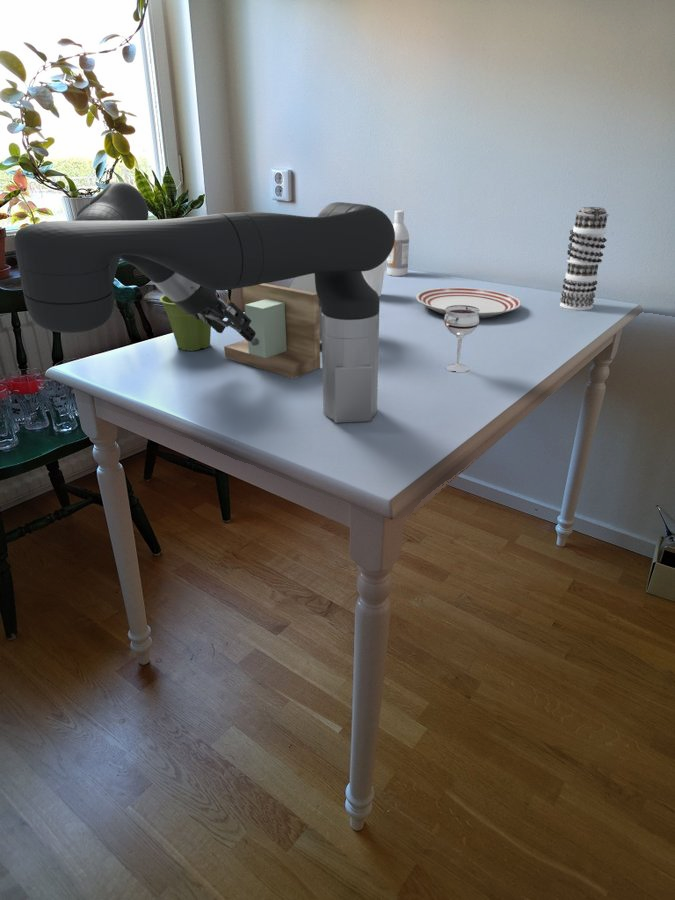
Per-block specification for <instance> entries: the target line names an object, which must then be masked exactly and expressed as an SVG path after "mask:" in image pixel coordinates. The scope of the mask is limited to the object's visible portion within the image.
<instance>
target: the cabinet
mask: <svg viewBox="0 0 675 900" xmlns="http://www.w3.org/2000/svg"><path fill="white" fill-rule="evenodd" d="M245 311H246V316H247V317H248V318H249V319H250V320H251V323H250V324H249V326H250V327H251V328H252V329H253V330H254V331H255V333H256V334H255V336H254V338H253V340H252V341H251V342H249V341H248V348H249V353H250V354H253V355H257V356H260V357H263V358H268V357H271V356H274V355H276V354H279V353H282V352H285V351H287V344H286V324H285V303H284V302H279V301H275V300H270V299H265V300H261V301H257V302H253V303H249V304H246V305H245Z"/></svg>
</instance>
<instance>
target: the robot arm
mask: <svg viewBox="0 0 675 900" xmlns="http://www.w3.org/2000/svg"><path fill="white" fill-rule="evenodd" d="M148 219H149V208H148V204H147V202H146V199H145V198H144V196H143V194H142V193H141V191H139V190H138V189H137V188H136V187H135V186H133V185H131V184H130V183H127V182H125V181H115V182H113V183H110V184H108V186H107V187H104V189H103V190H101V191H100V192H99V193H98V194H97V195H96V196H94V197H93V198H92V199H90V200H89V201H88V202H86V203H85V204H84V205H83V206H82V207H81V208H80V209H79V211H78V212H77V214H76V218H75V219H74V220H54V221H45V222H36V223H33V224H30V225H26V226H24V227H21V228H20V229H18V230H17V231H16V232H15V235H14V238H13V240H14V243H13V244H14V251H15V257H16V261H17V268H18V272H19V277H20V279H19V280H20V284H21V288H22V292H23V297H24V302H25V306H26V309H27V311H28V314H29V316H30V318H31V319H32V321H33V322H34V323H35V324H36V325H38V326H39V327H41V328H43V329H44V330H47V331H50V332H55V333H61V334H62V333H63V334H77V333H86V332H90V331H93V330H95V329H98V328H100V327H101V326H103V325H104V324H106V323H107V322H108V321H109V320H110V318H111V316H112V313H113V311H114V310H113V309H114V305H115V304H114V303H115V293H114V282H115V278H116V277H115V276H116V273H117V271H118V270H117V269H118V267H119V266H118V265H119V263H120V260H122V261H123V262H126V263H128V264H130V265H132V266H133V267H134V268H137V269H138V270H139V271H140V272H141V273H142V275H144V276H145V277H146V278H148V279H149V280H150V281H151V282H152V283H153V284H154V285H155V286H156V288H157V289H158V290H159V291H160V292H161V293H162V294H163V295H166V296H167V297H168V298H169V299H170V300H171V301H173V302H174V303H175V304H176V305H177V306H178V307H179V308H180V309H182V310H183V311H184V312H185V313H187V314H189V315H193V316H194V317H195V318H196V319H198V320H200V319H202V321H203V322H204V323H208V324H209V325H210V326H211V328H212V329H214V330H215V332H216V333H219V334H222V333H223V332H224V330H225V329H226V328H228V327H230V328H232V329H233V330H234V331H236V332H237V333H238V334H239V335H240V336H242V338H243V339H244V340H245V339H246V340H247V341H249V342H251V341H252V340H253V338H254V336H255V334H256V333H255V331H254V330H253V329H252V328H251V327H250V326H249V324H250V323H251V320H250V319H249V318H248V317H247V316H246V315H245V312H243V311H242V310H241V309H240V308H239V307H238V306H237V305H236V304H235V303H234V302H232V301H229V302H228V304H227V303H226V302H225V301H224V300H223V299H221V298H220V297H219V296H217V291H227V290H229V291H230V290H234V289H235V290H236V289H243V287H249V286H255V285H259V284H264V283H265V284H269V283H274V282H275V283H276V282H280V281H285V280H290V279H295V277H300V276H304V275H308V274H313V273H314V274H315V287H316V292H317V295H318V298H319V300H320V303H321V319H322V350H321V355H322V356H321V363H322V366H321V367H322V370H321V371H322V398H323V399H322V403H323V404H322V405H323V414H324V416H326V417H327V418H329V419H331V420H333V421H334V423H337V424H338V423H355V422H357V423H358V422H359V423H360V422H372V421H373V417H375V416H376V415H377V412H378V391H379V390H378V387H379V385H378V378H379V341H380V337H379V336H380V335H379V334H380V297H379V296H378V294H377V292H376V291H375V290H373V289H372V288H371V287H370V286H369V285H368V283H367V282H366V281H365V279H364V277H363V275H362V272H361V271H369V270H372V269H374V268H376V267H378V266H379V265H381V264H382V263H383V262H384V261H385V260H386V261H387V257H388V256H389V255H390V253H391V251H392V249H393V246H394V242H395V231H394V227H393V223H392V221H391V219H390V217H388V215H387V214H386V213H385V212H383V210H381V209H379V208H377V207H375V206H371V205H368V204H363V203H361V204H360V203H351V202H342V201H341V202H339V201H337V202H332V203H329V204H327V205H325V206H324V207H323V208H322V209H321V210H320V211H319V213H318V215H317V216H304V215H293V214H287V213H277V212H262V211H260V212H258V211H243V212H242V211H241V212H239V211H238V212H237V211H236V212H225V213H223V212H222V213H213V214H205V215H196V216H187V217H178V218H177V217H176V218H166V219H165V218H164V219H149V220H148ZM224 319H227V320H224Z"/></svg>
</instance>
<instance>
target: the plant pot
mask: <svg viewBox="0 0 675 900" xmlns="http://www.w3.org/2000/svg"><path fill="white" fill-rule="evenodd" d="M159 302H160V303H162V305H163V309H164V311H165V313H166V315H167V317H168V320H169V321H168V322H169V324H170V327H171V330H172V333H173V336H174V339H175V343H176V347H177V348H178V349H180V350H182V351H185V350H187V351H189V352H190V351H191V352H192V351H194V350H196V351H198V350H200V349H207V348H208V347H210V346H211V336H212V335H211V331H212V329H211V328H212V327H211V326H210V325H209V324H208V323H204V322H203V321H202V319H200V320H198V319H196V318H195V317H194V316H193V315H189V314H187V313H185V312H184V311H183V310H182V309H180V308H179V307H178V306H177V305H176V304H175V303H174V302H173V301H171V300H170V299H169V298H168V297H167V296H166V295H165V294H163V295H162V296H160V297H159ZM187 351H186V352H187ZM194 352H195V351H194Z"/></svg>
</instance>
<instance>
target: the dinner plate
mask: <svg viewBox="0 0 675 900" xmlns="http://www.w3.org/2000/svg"><path fill="white" fill-rule="evenodd" d="M415 298H416V300H417V302H419V304H421V305H423V306H424V307H426V308H427V309H430V310H431V311H434V312H437V313H439V314H442V315H444V316H445V315H446V313H447V312H446V310H445V308H446V307H448V306H453V305H468V306H474V307H477V308H479V309H480V311H479V313H478V316H479V319H485V318H490V317H496V316H498V315H501V314H502V315H503V314H506V313H509V312H512V311H515V310H516V309H519V307H521V304H522V302H521V300H520V299H518V298H517V297H515V296H513V295H511V294H508V293H504V292H501V291H496V290H492V289H485V288H474V287H461V286H460V287H458V286H457V287H455V286H453V287H438V288H437V287H436V288H430V289H425V290H422V291H419V292H418V294H416V297H415Z"/></svg>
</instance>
